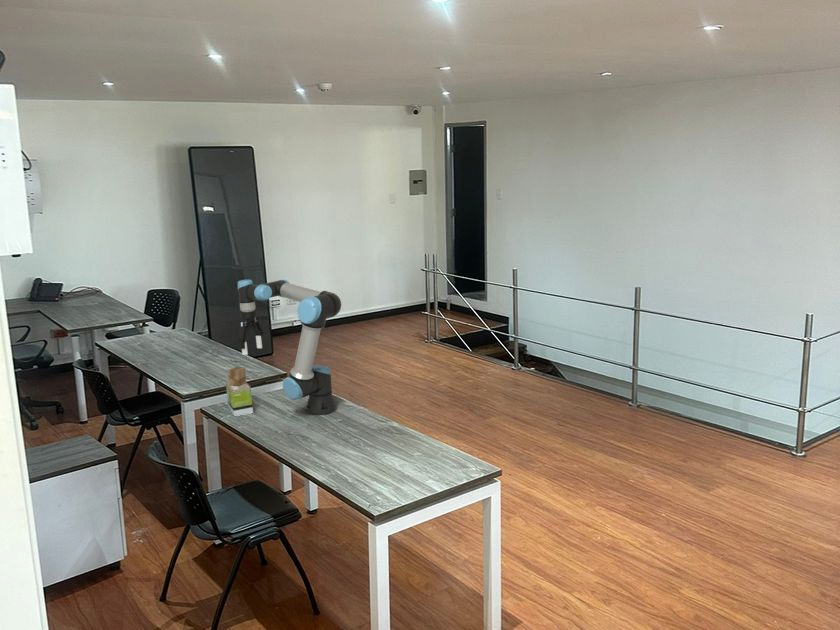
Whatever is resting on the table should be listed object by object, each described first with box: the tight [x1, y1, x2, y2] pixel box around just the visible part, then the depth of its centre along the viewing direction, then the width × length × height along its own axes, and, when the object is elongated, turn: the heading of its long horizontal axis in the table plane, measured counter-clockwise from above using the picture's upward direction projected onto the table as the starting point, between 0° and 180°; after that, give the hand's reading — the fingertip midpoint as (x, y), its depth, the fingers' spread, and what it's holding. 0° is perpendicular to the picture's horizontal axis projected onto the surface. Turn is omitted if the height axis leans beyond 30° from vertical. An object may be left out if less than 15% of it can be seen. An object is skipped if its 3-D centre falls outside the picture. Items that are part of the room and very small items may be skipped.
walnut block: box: [227, 366, 247, 386], centre depth 383 cm, size 6×6×8 cm
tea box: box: [225, 382, 254, 417], centre depth 385 cm, size 15×10×15 cm
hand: (252, 351), depth 386 cm, fingers open, 13 cm apart
